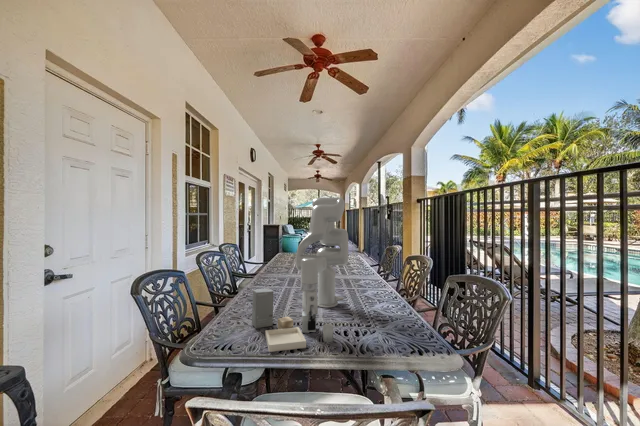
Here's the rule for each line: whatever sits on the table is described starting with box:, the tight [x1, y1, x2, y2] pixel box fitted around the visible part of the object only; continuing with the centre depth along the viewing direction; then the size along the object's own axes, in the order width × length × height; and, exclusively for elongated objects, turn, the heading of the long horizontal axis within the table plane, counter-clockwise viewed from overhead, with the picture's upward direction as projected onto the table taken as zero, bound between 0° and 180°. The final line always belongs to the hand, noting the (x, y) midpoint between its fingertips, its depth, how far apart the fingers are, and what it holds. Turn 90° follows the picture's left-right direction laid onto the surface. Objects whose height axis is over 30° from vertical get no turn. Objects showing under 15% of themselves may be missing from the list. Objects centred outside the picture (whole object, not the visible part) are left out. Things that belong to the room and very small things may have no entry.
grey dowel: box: [322, 323, 334, 343], centre depth 119 cm, size 4×4×6 cm
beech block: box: [277, 316, 294, 329], centre depth 128 cm, size 5×5×5 cm
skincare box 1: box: [251, 288, 274, 329], centre depth 134 cm, size 8×7×16 cm
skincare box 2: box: [301, 310, 317, 334], centre depth 129 cm, size 6×6×7 cm
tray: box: [264, 326, 307, 353], centre depth 117 cm, size 14×14×2 cm
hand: (308, 325), depth 129 cm, fingers open, 9 cm apart
